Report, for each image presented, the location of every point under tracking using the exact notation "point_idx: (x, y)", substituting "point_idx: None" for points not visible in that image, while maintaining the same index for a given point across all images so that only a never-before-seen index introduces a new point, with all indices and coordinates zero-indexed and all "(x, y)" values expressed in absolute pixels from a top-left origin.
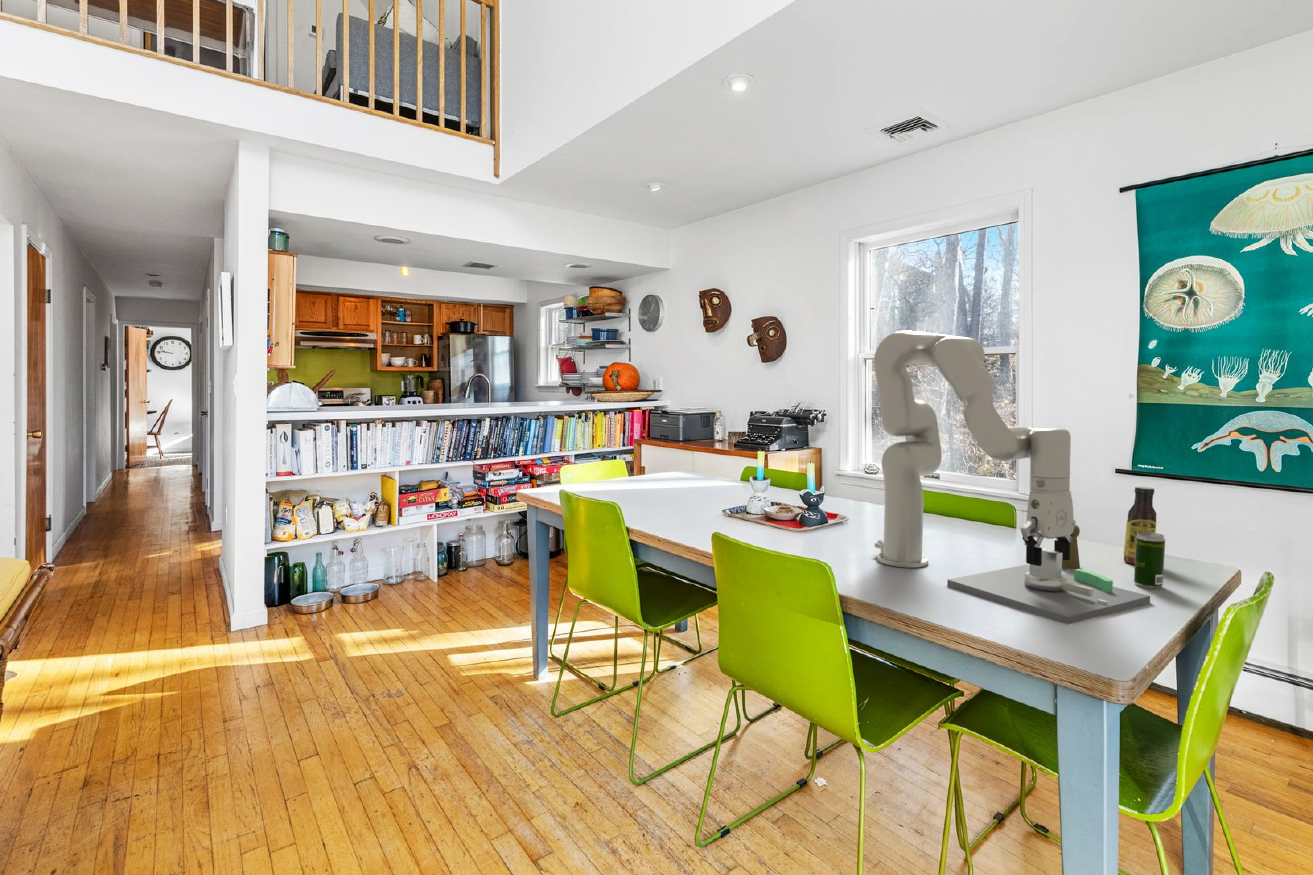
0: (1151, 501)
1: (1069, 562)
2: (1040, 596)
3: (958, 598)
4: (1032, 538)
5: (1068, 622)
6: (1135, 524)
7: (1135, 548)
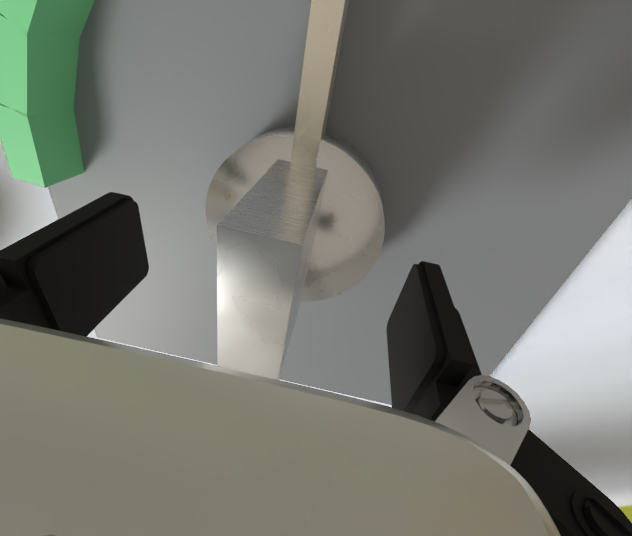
0: None
1: None
2: (467, 169)
3: (575, 355)
4: (610, 524)
5: None
6: None
7: None
